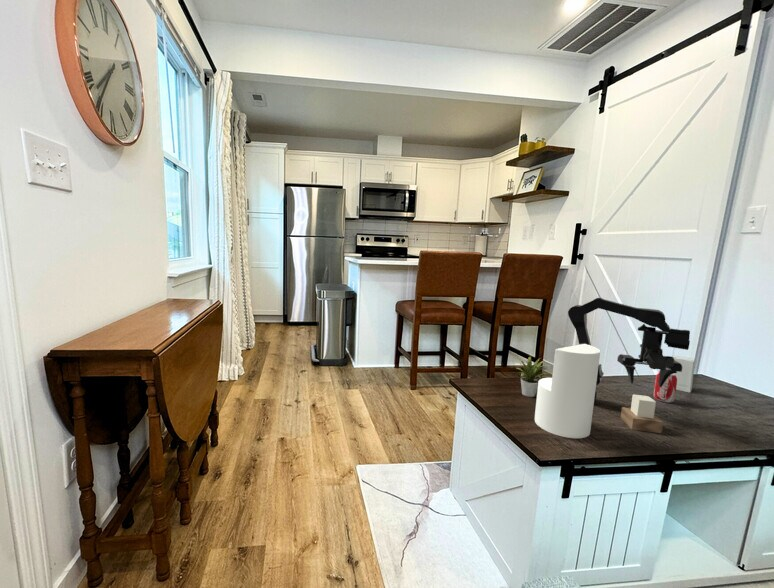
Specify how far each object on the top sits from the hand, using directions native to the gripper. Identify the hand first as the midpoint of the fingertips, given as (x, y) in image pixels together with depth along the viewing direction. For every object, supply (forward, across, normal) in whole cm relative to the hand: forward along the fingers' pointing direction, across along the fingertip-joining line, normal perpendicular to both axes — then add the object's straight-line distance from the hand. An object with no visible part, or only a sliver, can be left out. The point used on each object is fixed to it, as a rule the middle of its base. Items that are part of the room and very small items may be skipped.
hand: (645, 385), depth 131 cm
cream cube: (+8, -4, -9) cm, 13 cm away
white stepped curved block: (+12, -31, -19) cm, 39 cm away
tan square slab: (+12, -4, -9) cm, 16 cm away
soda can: (+12, +16, +21) cm, 29 cm away
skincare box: (+12, +30, +39) cm, 51 cm away
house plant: (+12, -39, +4) cm, 41 cm away
